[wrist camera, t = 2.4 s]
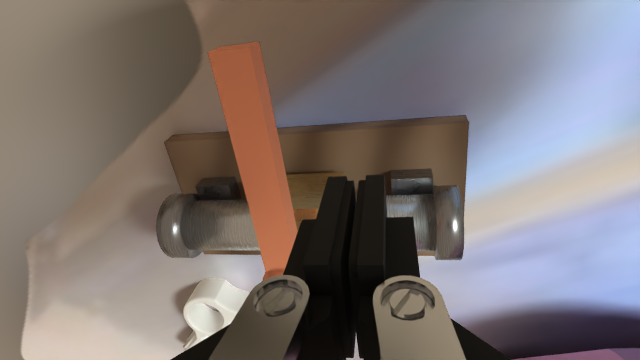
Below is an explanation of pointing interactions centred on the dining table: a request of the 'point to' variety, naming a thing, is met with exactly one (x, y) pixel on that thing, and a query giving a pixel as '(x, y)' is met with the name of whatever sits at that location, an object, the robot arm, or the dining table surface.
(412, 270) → the robot arm
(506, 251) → the dining table surface
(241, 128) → the lever
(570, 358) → the flower arrangement
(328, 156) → the valve board
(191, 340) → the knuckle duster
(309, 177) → the water pipe
